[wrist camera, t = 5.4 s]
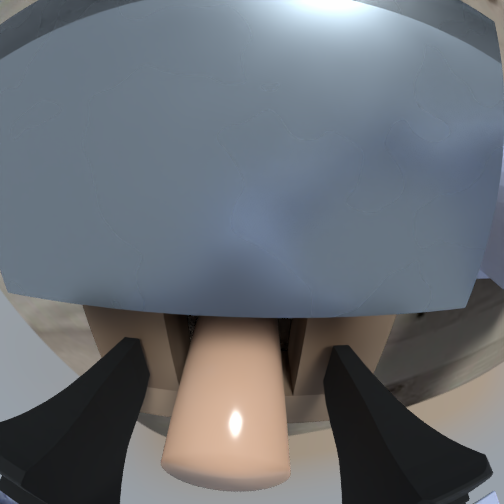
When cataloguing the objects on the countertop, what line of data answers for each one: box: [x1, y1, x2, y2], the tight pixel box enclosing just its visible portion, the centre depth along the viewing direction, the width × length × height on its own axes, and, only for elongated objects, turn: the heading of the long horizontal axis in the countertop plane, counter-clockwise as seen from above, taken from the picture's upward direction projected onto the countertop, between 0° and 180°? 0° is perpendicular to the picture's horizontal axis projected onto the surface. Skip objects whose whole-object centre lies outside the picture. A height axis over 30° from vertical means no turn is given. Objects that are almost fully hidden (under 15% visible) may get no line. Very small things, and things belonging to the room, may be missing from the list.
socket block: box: [83, 305, 397, 423], centre depth 11 cm, size 12×13×3 cm
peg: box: [161, 315, 291, 491], centre depth 9 cm, size 3×3×8 cm
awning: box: [0, 0, 504, 318], centre depth 6 cm, size 10×6×7 cm, turn 89°
